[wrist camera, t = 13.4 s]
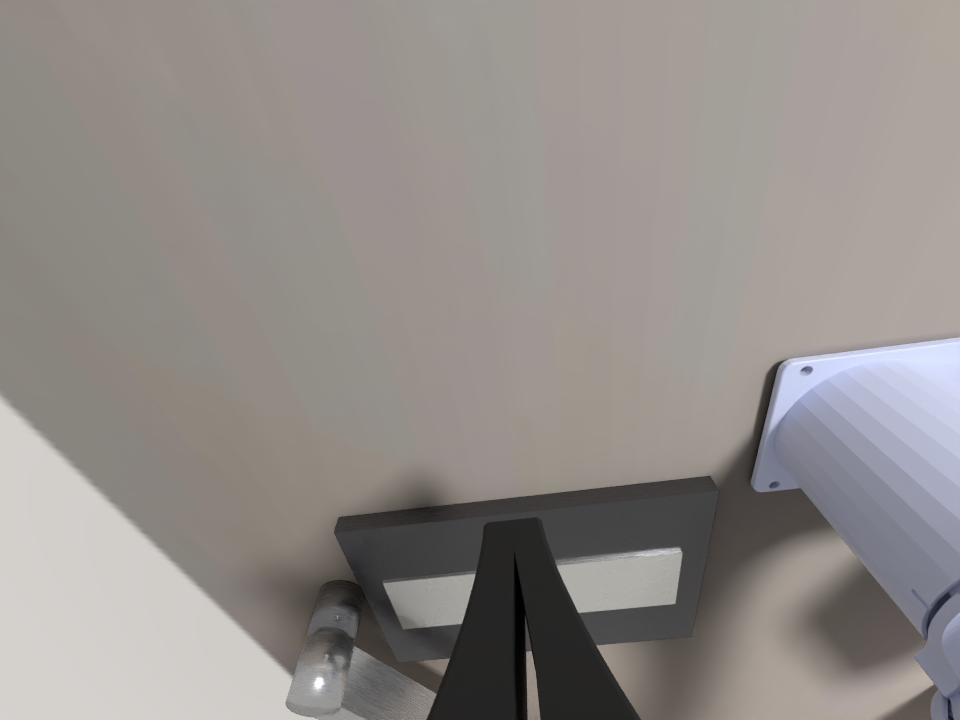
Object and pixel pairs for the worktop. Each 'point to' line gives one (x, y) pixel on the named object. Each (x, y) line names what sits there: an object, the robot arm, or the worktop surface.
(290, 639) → the worktop surface
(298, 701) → the swing arm
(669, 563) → the panel
